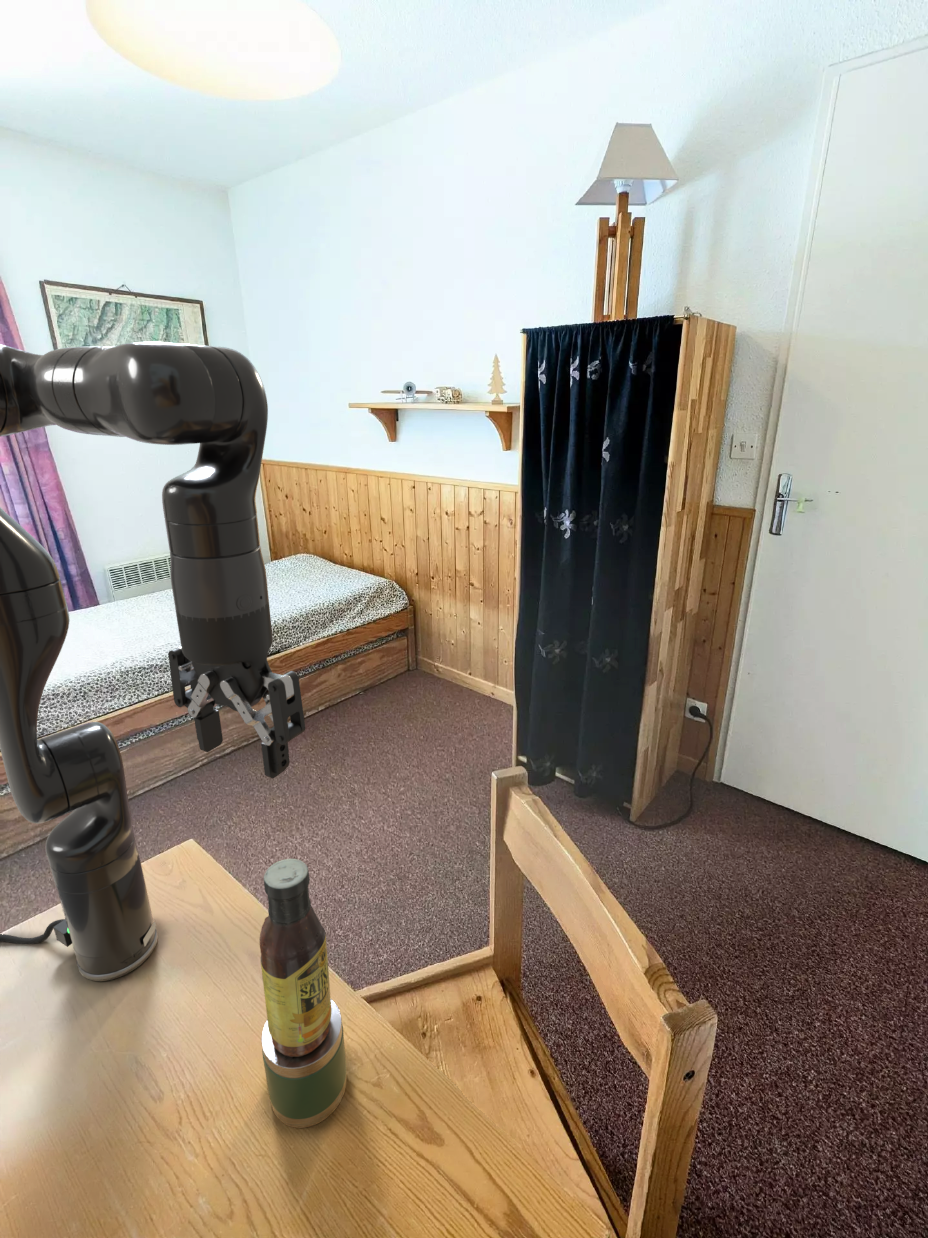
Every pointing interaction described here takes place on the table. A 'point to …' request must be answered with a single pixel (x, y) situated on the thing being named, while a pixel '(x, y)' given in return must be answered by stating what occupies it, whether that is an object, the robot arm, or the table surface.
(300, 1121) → the tin can
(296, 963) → the sauce bottle
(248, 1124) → the table surface
